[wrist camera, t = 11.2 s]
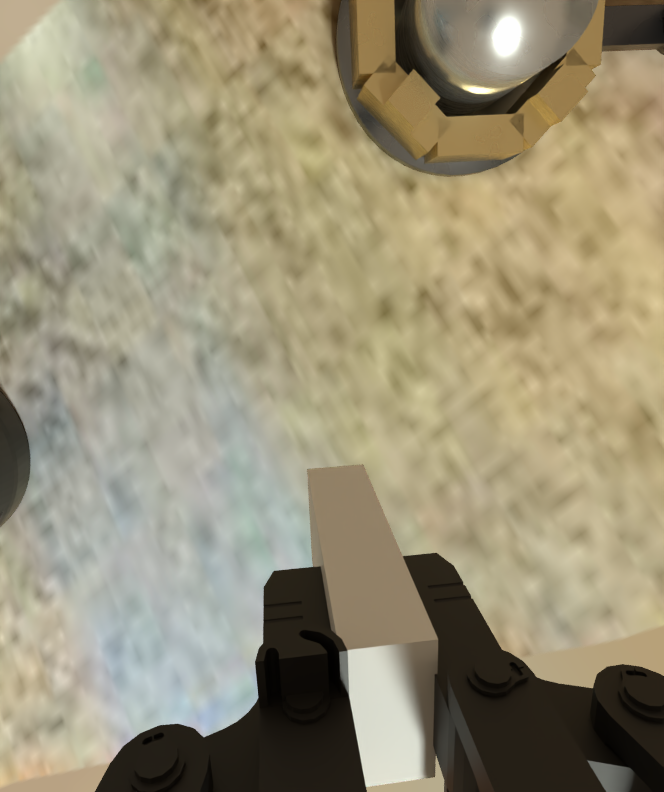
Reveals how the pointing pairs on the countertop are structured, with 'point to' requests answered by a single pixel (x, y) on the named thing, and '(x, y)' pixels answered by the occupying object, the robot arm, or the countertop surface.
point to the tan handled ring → (484, 134)
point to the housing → (468, 59)
